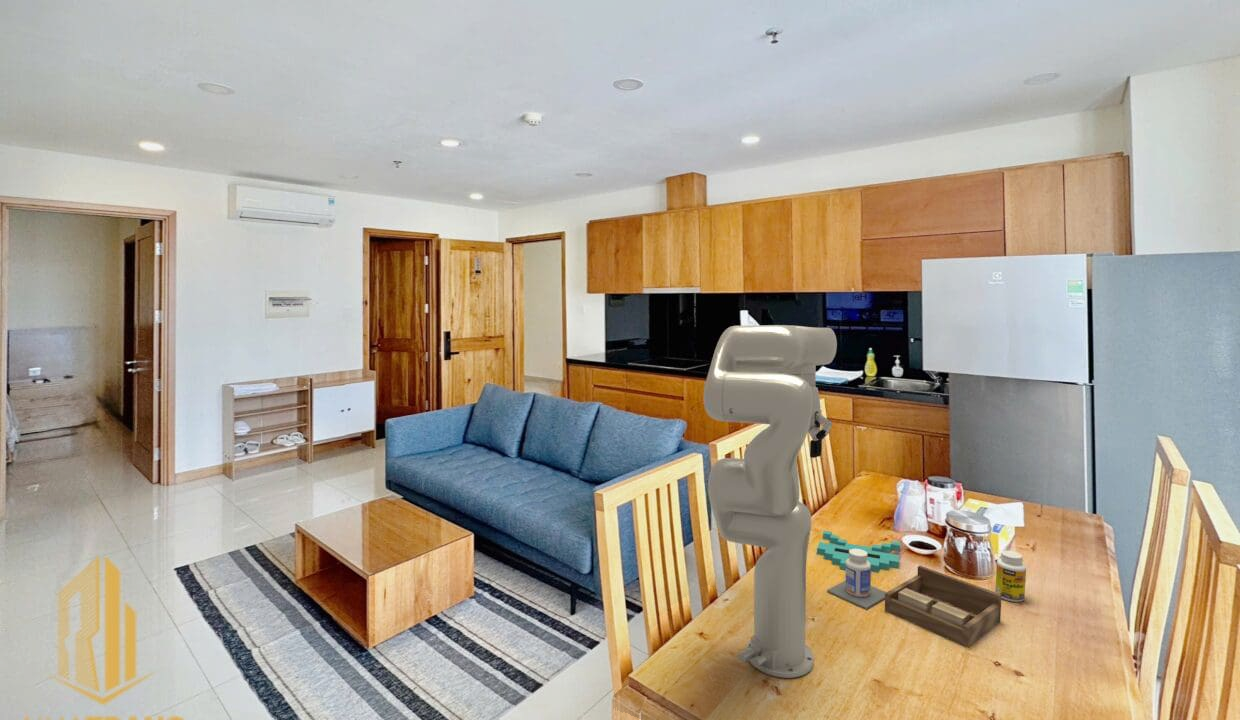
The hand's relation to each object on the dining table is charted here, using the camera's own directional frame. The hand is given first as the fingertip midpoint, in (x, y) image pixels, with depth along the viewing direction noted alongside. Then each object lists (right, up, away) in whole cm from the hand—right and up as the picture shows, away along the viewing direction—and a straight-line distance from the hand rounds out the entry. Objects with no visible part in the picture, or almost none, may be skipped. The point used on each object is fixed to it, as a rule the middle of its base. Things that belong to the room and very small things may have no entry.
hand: (797, 452), depth 131 cm
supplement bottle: (+48, -33, -3) cm, 58 cm away
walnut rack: (+28, -34, -10) cm, 45 cm away
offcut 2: (+27, -34, -16) cm, 46 cm away
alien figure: (+22, -32, +19) cm, 43 cm away
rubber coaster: (+14, -33, 0) cm, 36 cm away
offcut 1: (+22, -34, -10) cm, 42 cm away
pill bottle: (+14, -33, 0) cm, 36 cm away
